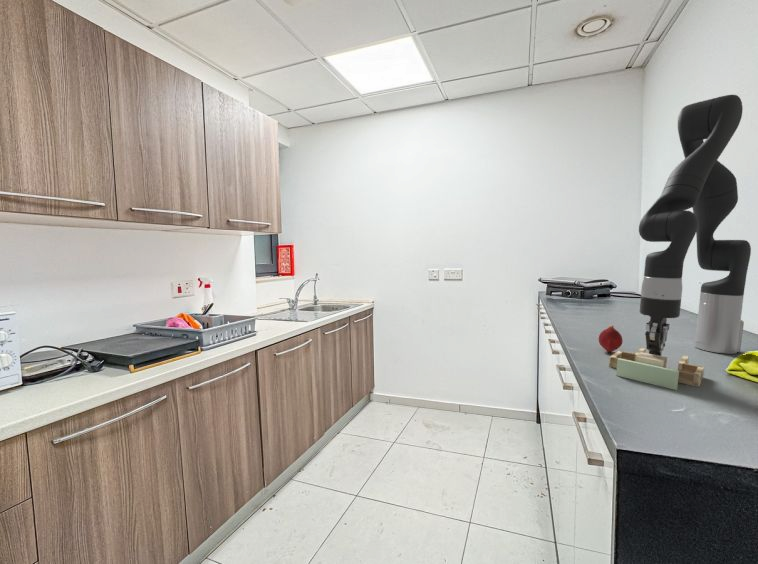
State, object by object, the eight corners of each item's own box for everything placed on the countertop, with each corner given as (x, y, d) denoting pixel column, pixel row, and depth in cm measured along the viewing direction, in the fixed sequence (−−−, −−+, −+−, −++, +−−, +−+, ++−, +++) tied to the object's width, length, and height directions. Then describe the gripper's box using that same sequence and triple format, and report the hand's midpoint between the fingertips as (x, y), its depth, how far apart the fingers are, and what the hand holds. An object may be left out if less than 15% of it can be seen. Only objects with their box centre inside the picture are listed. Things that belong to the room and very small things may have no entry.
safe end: (617, 374, 82) (618, 358, 82) (677, 388, 74) (679, 370, 74) (616, 375, 82) (617, 359, 81) (676, 389, 74) (678, 371, 73)
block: (639, 372, 84) (640, 352, 84) (665, 377, 81) (667, 357, 80) (634, 376, 81) (636, 356, 81) (661, 383, 77) (663, 361, 77)
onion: (625, 355, 97) (627, 328, 97) (602, 354, 98) (605, 326, 98) (615, 350, 103) (617, 323, 102) (594, 348, 104) (596, 322, 103)
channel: (625, 353, 99) (626, 345, 99) (706, 369, 87) (707, 359, 87) (602, 371, 85) (603, 361, 84) (696, 393, 72) (697, 381, 72)
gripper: (676, 300, 75) (669, 377, 77) (685, 295, 84) (678, 364, 86) (634, 296, 81) (628, 368, 83) (647, 292, 90) (641, 356, 91)
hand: (653, 366), depth 84 cm, fingers closed
